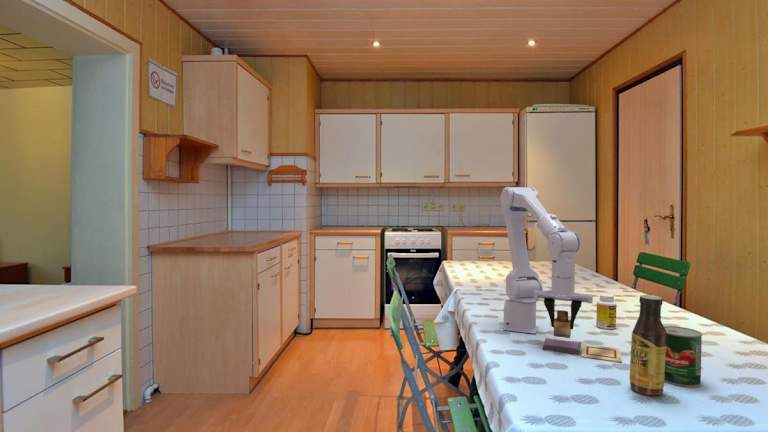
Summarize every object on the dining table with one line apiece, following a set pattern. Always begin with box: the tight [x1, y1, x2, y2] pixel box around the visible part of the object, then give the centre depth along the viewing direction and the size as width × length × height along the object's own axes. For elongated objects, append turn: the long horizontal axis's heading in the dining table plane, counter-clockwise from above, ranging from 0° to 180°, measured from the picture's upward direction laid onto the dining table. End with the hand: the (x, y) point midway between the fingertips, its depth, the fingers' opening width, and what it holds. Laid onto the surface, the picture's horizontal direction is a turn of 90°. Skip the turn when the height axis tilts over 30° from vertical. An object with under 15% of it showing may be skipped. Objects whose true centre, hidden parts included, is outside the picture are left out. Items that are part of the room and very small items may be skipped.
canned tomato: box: [663, 325, 703, 388], centre depth 100 cm, size 8×8×11 cm
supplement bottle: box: [596, 293, 617, 330], centre depth 142 cm, size 6×6×10 cm
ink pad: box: [542, 337, 582, 356], centre depth 122 cm, size 9×7×1 cm
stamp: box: [553, 309, 572, 339], centre depth 122 cm, size 4×4×6 cm
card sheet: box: [581, 343, 623, 364], centre depth 118 cm, size 9×11×1 cm
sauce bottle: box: [629, 294, 666, 396], centre depth 94 cm, size 6×6×20 cm
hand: (562, 327), depth 121 cm, fingers closed on stamp, 4 cm apart
